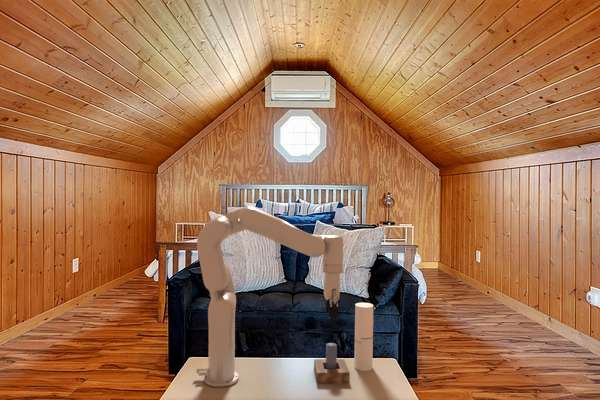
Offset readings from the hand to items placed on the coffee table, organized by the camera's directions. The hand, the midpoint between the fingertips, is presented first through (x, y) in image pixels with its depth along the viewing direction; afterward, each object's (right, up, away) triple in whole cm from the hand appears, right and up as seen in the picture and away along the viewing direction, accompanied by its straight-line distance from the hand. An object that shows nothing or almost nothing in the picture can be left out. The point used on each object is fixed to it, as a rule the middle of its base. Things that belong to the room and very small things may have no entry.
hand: (331, 313), depth 159 cm
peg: (0, -24, +1) cm, 24 cm away
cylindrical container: (+13, -24, +9) cm, 29 cm away
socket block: (0, -24, +1) cm, 24 cm away
